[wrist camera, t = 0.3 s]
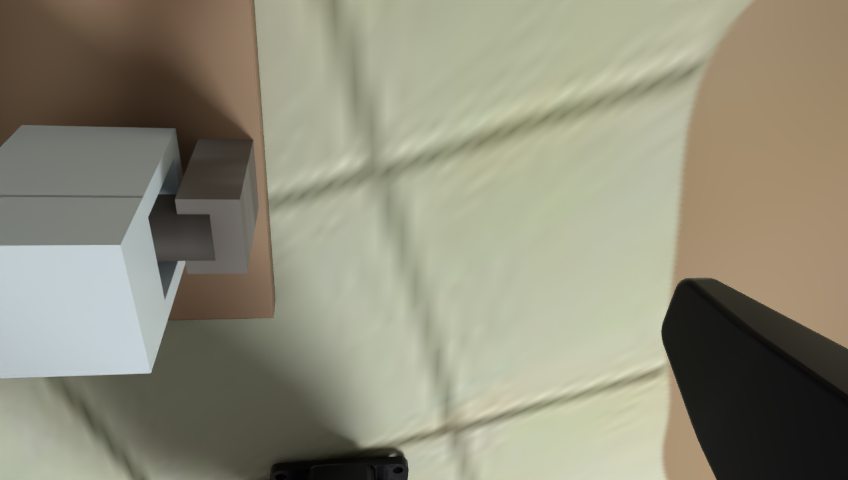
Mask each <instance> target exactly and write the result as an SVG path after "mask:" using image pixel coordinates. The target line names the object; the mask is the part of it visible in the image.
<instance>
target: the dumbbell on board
mask: <svg viewBox="0 0 848 480" xmlns="http://www.w3.org/2000/svg"><path fill="white" fill-rule="evenodd" d="M21 125H42V126H90V127H137V128H176V134H177V141H178V147H179V154H180V160H181V166H182V173H183V179H182V182H181V184H180V187H179V190H178V192H177V194H158V196H157V198H156V200H155V203H154V205H153V207H152V210H151V212H150V214H149V216H148V219H149V224H150V229H151V234H152V239H153V244H154V249H155V254H156V259H157V261H185V266H184V269H183V273H182V276H181V279H180V282H179V285H178V289H177V292H176V295H175V298H174V301H173V305H172V308H171V311H170V314H169V317H168V320H204V319H249V318H273V316H274V307H275V290H274V276H273V262H272V248H271V233H270V219H269V205H268V191H267V177H266V163H265V149H264V135H263V120H262V106H261V92H260V78H259V64H258V50H257V36H256V21H255V7H254V0H0V147H1V146H2V145H3V144H4V143H5V142H6V141H7V140H8V139H9V138H10V137H11V136H12V135H13V134H14V133H15V131H16V130H17V129H18V128H19V127H20V126H21Z"/></svg>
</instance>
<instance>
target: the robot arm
mask: <svg viewBox="0 0 848 480" xmlns="http://www.w3.org/2000/svg"><path fill="white" fill-rule="evenodd" d="M661 333H662V341H663V345H664V347H665V350H666V353H667V356H668V359H669V361H670V364H671V367H672V370H673V373H674V375H675V378H676V381H677V384H678V387H679V389H680V392H681V395H682V398H683V401H684V403H685V406H686V409H687V412H688V415H689V417H690V420H691V423H692V426H693V428H694V430H695V433H696V436H697V438H698V441H699V443H700V445H701V448H702V450H703V452H704V454H705V456H706V458H707V461H708V463H709V465H710V467H711V469H712V471H713V473H714V475H715V477H716V480H848V349H847V348H845V347H843V346H841V345H839V344H838V343H836V342H834V341H832V340H830V339H828V338H826V337H824V336H822V335H820V334H819V333H816V332H814V331H812V330H811V329H809V328H807V327H805V326H803V325H801V324H799V323H797V322H796V321H794V320H792V319H790V318H788V317H786V316H784V315H782V314H780V313H778V312H777V311H775V310H773V309H771V308H769V307H767V306H765V305H763V304H761V303H759V302H757V301H756V300H754V299H752V298H750V297H748V296H746V295H744V294H742V293H740V292H738V291H737V290H735V289H733V288H731V287H729V286H727V285H725V284H723V283H721V282H719V281H718V280H715V279H712V278H685V279H683V280H681V281H680V282H679V283H678V284H677V286H676V289H675V291H674V294H673V297H672V299H671V302H670V305H669V307H668V310H667V313H666V316H665V318H664V321H663V324H662V330H661ZM407 479H408V462H407V460H406V459H405V458H403V457H384V458H366V459H348V460H330V461H312V462H294V463H279V464H276V465H273V466H272V467H271V470H270V480H407Z"/></svg>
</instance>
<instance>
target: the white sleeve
mask: <svg viewBox="0 0 848 480" xmlns="http://www.w3.org/2000/svg"><path fill="white" fill-rule="evenodd" d="M182 179H183V173H182V166H181V160H180V154H179V147H178V141H177V134H176V128H137V127H90V126H42V125H21V126H20V127H19V128H18V129H17V130H16V131H15V133H14V134H13V135H12V136H11V137H10V138H9V139H8V140H7V141H6V142H5V143H4V144H3V145H2V146H1V147H0V378H29V377H58V376H88V375H117V374H147V373H151V372H152V369H153V365H154V362H155V359H156V356H157V353H158V349H159V346H160V343H161V340H162V337H163V333H164V330H165V327H166V324H167V321H168V317H169V314H170V311H171V308H172V305H173V301H174V298H175V295H176V292H177V289H178V285H179V282H180V279H181V276H182V273H183V269H184V266H185V261H157V259H156V254H155V249H154V244H153V239H152V234H151V229H150V224H149V219H148V216H149V214H150V212H151V210H152V207H153V205H154V203H155V200H156V198H157V196H158V194H177V192H178V190H179V187H180V184H181V182H182Z"/></svg>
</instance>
